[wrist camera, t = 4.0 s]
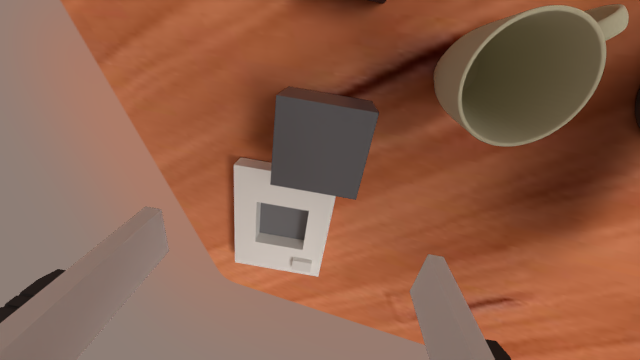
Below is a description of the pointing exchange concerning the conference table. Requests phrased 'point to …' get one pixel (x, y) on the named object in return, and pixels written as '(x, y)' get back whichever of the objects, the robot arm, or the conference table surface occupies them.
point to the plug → (321, 141)
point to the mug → (526, 71)
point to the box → (380, 0)
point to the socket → (278, 221)
